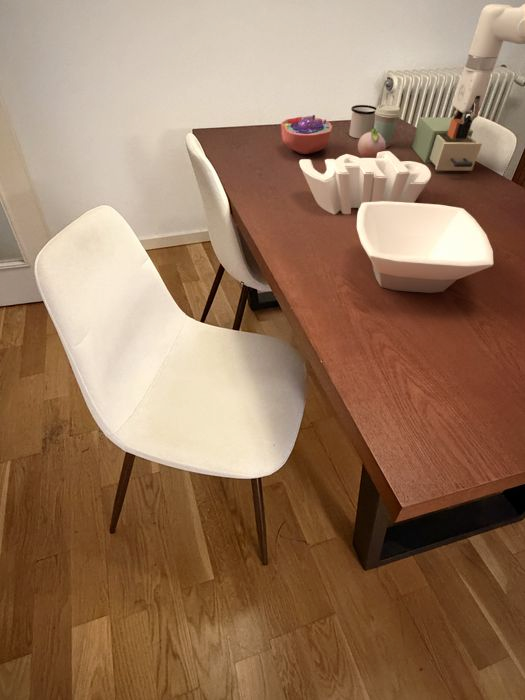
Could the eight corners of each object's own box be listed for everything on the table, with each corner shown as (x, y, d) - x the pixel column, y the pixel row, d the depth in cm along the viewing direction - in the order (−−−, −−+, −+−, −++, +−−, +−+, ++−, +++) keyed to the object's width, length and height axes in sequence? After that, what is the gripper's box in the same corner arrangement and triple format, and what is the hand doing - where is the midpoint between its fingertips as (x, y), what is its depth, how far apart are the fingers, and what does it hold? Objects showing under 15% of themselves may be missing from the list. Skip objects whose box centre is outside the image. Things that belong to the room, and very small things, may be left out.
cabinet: (462, 162, 132) (473, 131, 125) (424, 162, 132) (433, 130, 125) (446, 147, 142) (456, 117, 136) (411, 147, 142) (419, 117, 135)
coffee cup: (378, 139, 147) (386, 102, 139) (397, 146, 143) (406, 108, 134) (363, 144, 143) (370, 106, 135) (382, 151, 139) (390, 112, 130)
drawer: (478, 176, 122) (488, 149, 116) (441, 176, 121) (450, 149, 116) (456, 155, 135) (464, 129, 129) (422, 154, 134) (429, 129, 129)
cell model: (329, 142, 144) (333, 107, 136) (328, 163, 130) (332, 124, 122) (282, 140, 146) (284, 104, 138) (276, 160, 132) (277, 121, 124)
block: (460, 134, 125) (466, 118, 122) (466, 139, 122) (471, 123, 119) (446, 134, 125) (451, 118, 122) (452, 139, 122) (457, 123, 119)
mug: (371, 140, 147) (377, 113, 140) (346, 138, 148) (350, 110, 142) (373, 130, 155) (378, 104, 148) (349, 128, 156) (353, 102, 150)
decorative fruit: (352, 157, 135) (358, 124, 128) (376, 156, 135) (383, 124, 128) (358, 167, 128) (364, 133, 121) (383, 167, 128) (391, 133, 121)
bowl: (346, 240, 95) (353, 198, 88) (454, 247, 94) (471, 205, 87) (350, 303, 78) (360, 257, 71) (483, 313, 77) (506, 268, 69)
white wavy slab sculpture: (300, 214, 105) (304, 173, 97) (295, 188, 116) (298, 149, 109) (433, 215, 105) (446, 174, 98) (415, 188, 117) (426, 150, 110)
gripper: (455, 57, 116) (436, 127, 129) (479, 69, 104) (455, 144, 117) (481, 57, 116) (459, 127, 129) (507, 70, 104) (480, 144, 117)
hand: (457, 134), depth 123 cm, fingers closed on block, 4 cm apart
